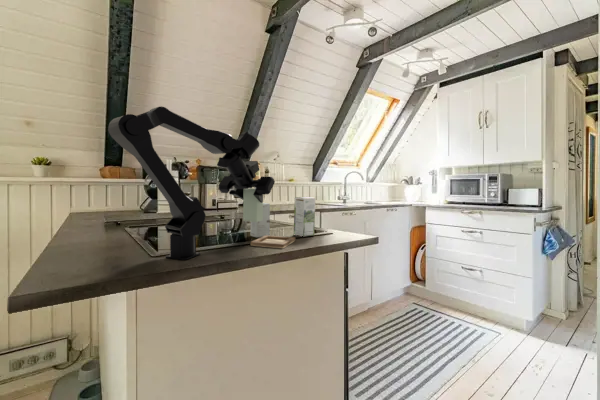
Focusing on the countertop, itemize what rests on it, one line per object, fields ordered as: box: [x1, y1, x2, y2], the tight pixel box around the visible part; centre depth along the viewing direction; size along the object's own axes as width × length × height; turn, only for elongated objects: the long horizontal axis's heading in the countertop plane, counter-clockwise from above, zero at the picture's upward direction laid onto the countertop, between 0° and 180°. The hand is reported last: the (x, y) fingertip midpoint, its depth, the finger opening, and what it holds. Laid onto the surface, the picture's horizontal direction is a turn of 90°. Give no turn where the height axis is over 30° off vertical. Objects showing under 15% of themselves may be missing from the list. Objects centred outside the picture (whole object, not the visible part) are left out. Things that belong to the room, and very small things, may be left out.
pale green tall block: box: [242, 188, 264, 223], centre depth 103 cm, size 5×5×11 cm
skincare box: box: [250, 202, 271, 238], centre depth 110 cm, size 6×4×12 cm
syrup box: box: [293, 196, 316, 238], centre depth 112 cm, size 6×6×14 cm
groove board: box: [250, 235, 296, 249], centre depth 98 cm, size 12×11×1 cm
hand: (255, 201), depth 104 cm, fingers closed on pale green tall block, 5 cm apart
